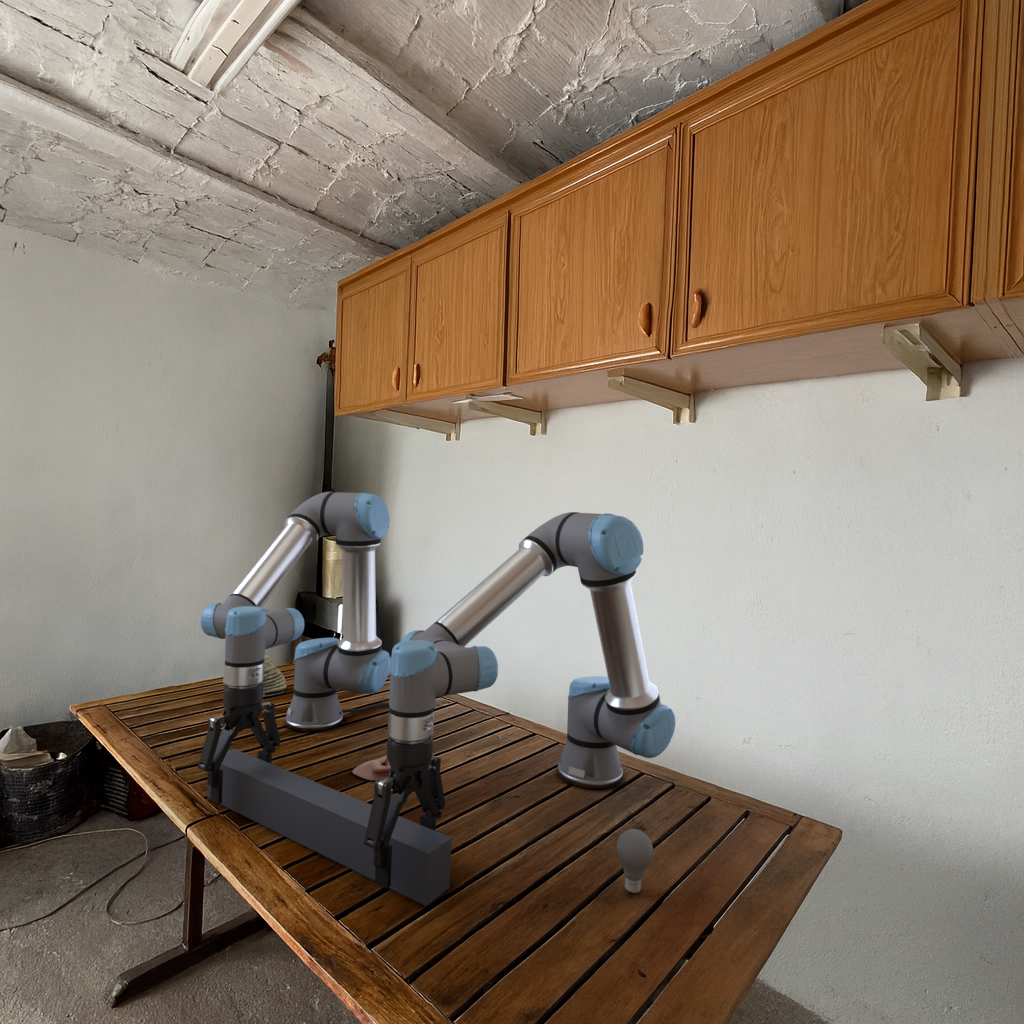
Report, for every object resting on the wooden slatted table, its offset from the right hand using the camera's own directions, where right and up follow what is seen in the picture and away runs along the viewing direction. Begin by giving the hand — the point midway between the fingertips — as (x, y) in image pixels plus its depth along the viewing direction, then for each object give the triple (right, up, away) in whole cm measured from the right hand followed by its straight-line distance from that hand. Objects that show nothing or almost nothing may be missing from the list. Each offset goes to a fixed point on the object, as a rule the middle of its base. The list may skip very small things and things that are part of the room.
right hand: (405, 868), depth 105 cm
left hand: (-38, +2, +24) cm, 45 cm away
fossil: (-63, +2, +93) cm, 112 cm away
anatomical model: (-12, -1, +42) cm, 44 cm away
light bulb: (+38, -4, 0) cm, 38 cm away
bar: (-19, -1, +12) cm, 23 cm away
